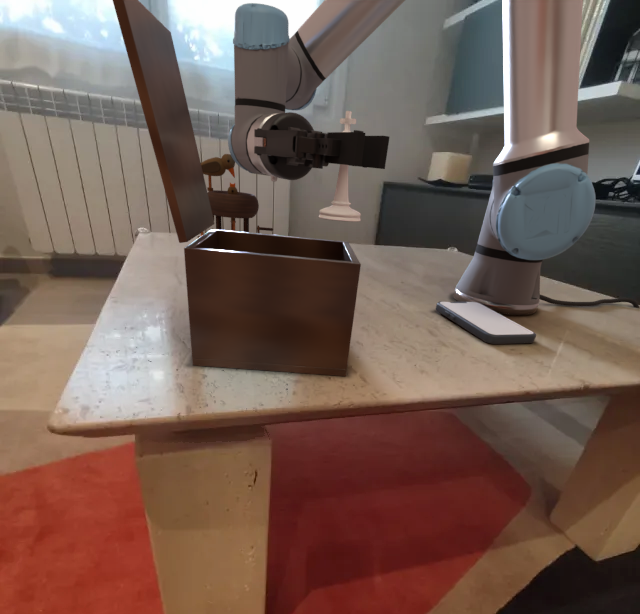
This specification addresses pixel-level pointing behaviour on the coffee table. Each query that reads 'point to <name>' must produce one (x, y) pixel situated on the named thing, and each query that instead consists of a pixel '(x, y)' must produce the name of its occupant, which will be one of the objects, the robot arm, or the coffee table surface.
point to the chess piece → (342, 189)
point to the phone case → (485, 323)
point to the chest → (271, 302)
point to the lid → (166, 116)
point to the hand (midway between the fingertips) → (371, 151)
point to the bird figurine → (229, 196)
